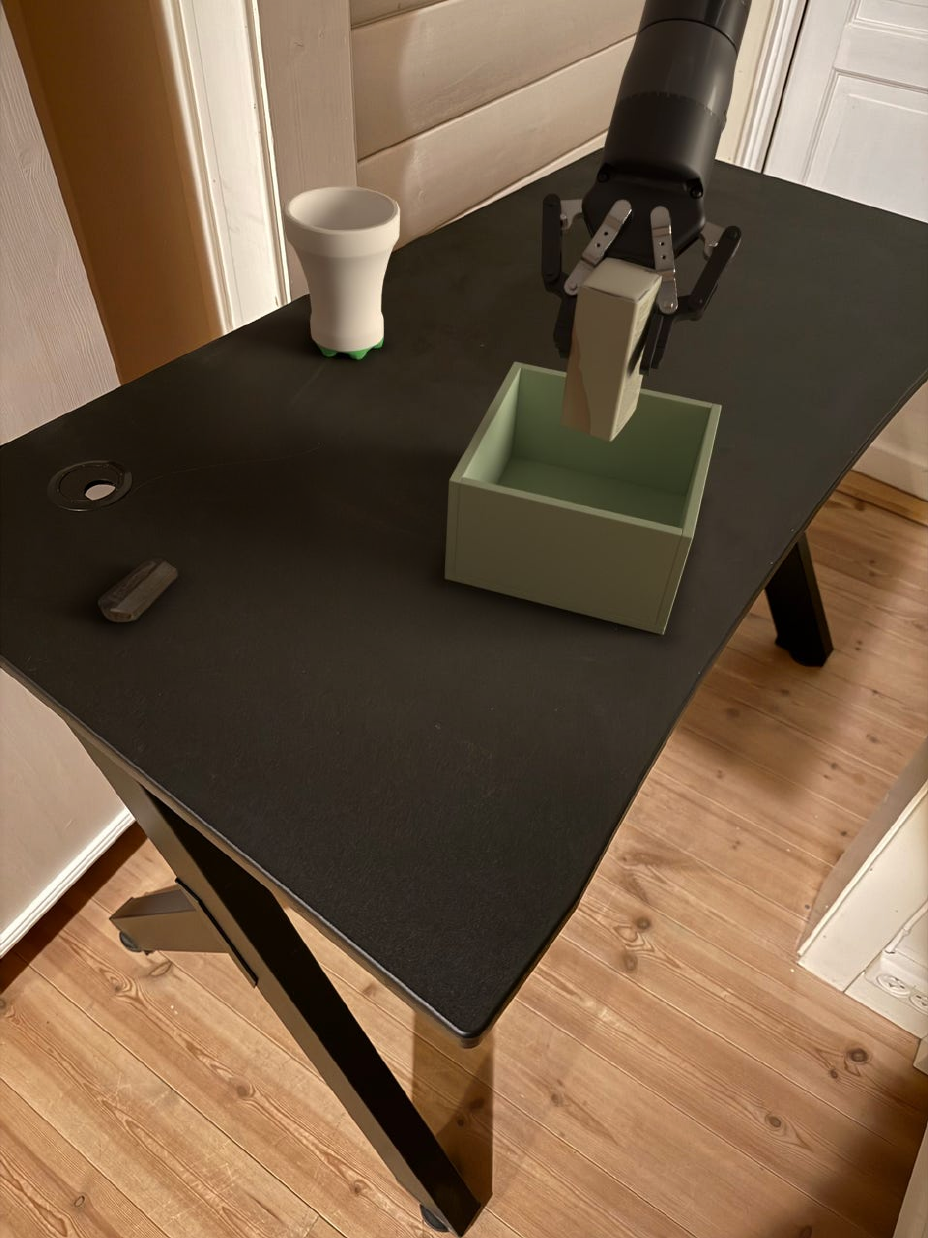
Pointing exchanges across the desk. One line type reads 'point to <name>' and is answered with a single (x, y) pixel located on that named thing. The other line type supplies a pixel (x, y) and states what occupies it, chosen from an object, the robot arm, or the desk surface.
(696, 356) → the desk surface
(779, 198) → the desk surface
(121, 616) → the block
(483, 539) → the bin
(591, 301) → the box
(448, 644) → the desk surface
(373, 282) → the cup
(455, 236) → the desk surface
